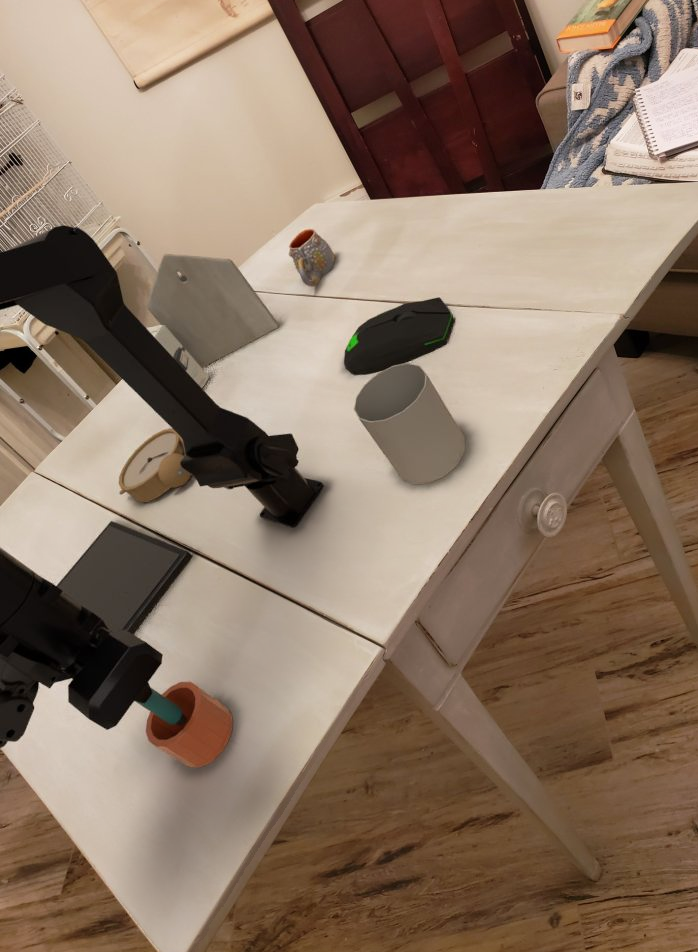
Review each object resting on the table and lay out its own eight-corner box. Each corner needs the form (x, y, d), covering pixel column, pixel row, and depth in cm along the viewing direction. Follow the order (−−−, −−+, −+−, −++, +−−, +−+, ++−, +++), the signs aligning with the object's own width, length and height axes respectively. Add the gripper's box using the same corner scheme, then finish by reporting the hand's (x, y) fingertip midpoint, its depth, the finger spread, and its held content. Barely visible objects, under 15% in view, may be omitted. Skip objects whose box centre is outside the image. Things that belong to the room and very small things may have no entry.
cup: (444, 488, 75) (402, 424, 69) (385, 480, 81) (340, 420, 75) (477, 428, 79) (439, 362, 73) (418, 424, 84) (378, 363, 78)
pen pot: (244, 718, 68) (211, 694, 65) (204, 778, 65) (169, 757, 62) (208, 695, 72) (176, 672, 69) (169, 751, 69) (135, 730, 66)
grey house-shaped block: (280, 303, 125) (212, 208, 113) (279, 326, 119) (208, 229, 107) (203, 345, 129) (130, 257, 117) (198, 369, 123) (121, 280, 111)
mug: (307, 265, 130) (287, 235, 126) (340, 251, 128) (320, 220, 124) (295, 304, 122) (274, 272, 118) (330, 289, 119) (309, 257, 115)
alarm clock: (135, 441, 110) (199, 405, 102) (160, 460, 112) (224, 427, 104) (105, 498, 102) (171, 464, 94) (133, 517, 105) (199, 486, 97)
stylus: (192, 716, 66) (109, 659, 59) (181, 732, 65) (96, 676, 59) (183, 709, 67) (100, 653, 60) (172, 725, 66) (87, 670, 60)
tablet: (193, 555, 88) (187, 550, 88) (122, 647, 83) (116, 643, 82) (115, 524, 102) (110, 520, 101) (51, 601, 97) (45, 597, 96)
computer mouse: (349, 337, 106) (335, 317, 103) (452, 294, 100) (440, 271, 98) (344, 386, 98) (329, 365, 95) (456, 342, 92) (443, 318, 90)
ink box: (162, 403, 121) (114, 352, 114) (176, 382, 124) (130, 331, 117) (196, 398, 116) (148, 344, 109) (210, 376, 119) (164, 323, 112)
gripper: (-117, 655, 56) (34, 737, 66) (-38, 752, 44) (134, 835, 53) (-12, 541, 61) (115, 632, 70) (87, 598, 48) (225, 700, 58)
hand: (142, 693), depth 63 cm, fingers closed on stylus, 1 cm apart
